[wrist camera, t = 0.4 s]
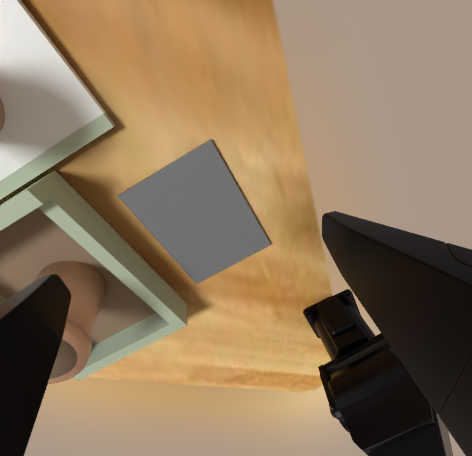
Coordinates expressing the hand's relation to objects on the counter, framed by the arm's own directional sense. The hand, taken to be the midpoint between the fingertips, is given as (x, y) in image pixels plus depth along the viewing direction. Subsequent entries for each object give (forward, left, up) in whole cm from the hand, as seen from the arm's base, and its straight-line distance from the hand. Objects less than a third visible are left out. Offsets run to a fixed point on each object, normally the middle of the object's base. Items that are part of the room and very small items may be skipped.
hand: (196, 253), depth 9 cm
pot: (-5, +17, -14) cm, 22 cm away
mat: (-6, +3, -14) cm, 15 cm away
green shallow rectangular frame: (-5, +17, -14) cm, 22 cm away
